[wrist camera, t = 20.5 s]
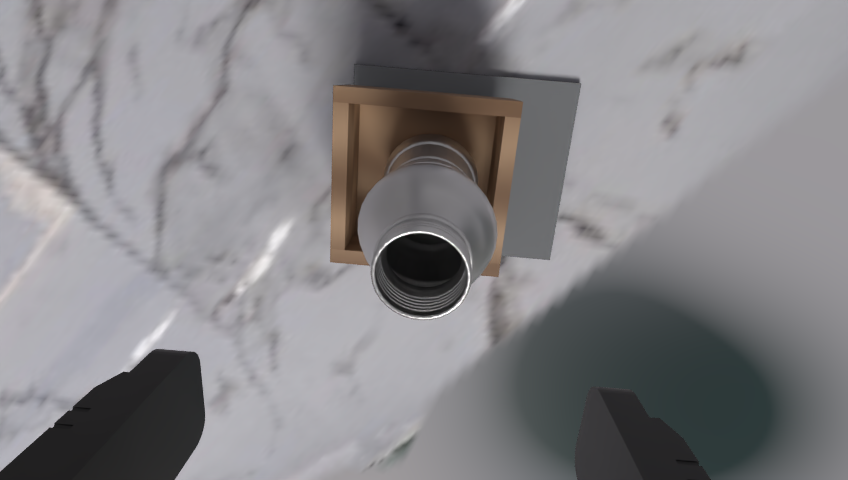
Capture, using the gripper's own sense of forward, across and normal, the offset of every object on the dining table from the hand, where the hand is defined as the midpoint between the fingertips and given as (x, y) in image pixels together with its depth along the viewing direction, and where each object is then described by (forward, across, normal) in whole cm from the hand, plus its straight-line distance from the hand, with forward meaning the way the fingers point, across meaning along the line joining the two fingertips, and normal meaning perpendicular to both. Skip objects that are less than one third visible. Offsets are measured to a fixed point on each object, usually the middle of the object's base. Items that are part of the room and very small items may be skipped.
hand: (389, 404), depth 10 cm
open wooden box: (+32, 0, +1) cm, 32 cm away
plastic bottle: (+28, 0, +1) cm, 28 cm away
